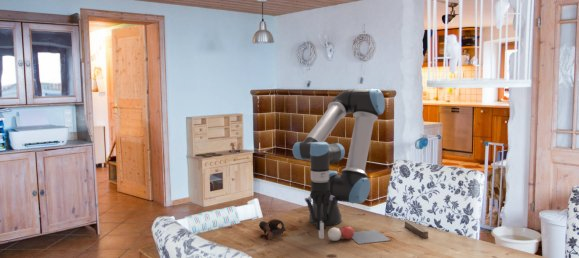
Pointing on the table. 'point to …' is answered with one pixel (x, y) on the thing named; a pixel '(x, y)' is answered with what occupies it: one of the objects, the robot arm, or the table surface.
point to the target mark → (369, 237)
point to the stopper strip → (416, 229)
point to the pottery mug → (272, 228)
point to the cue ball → (334, 234)
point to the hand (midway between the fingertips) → (321, 237)
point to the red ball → (347, 232)
